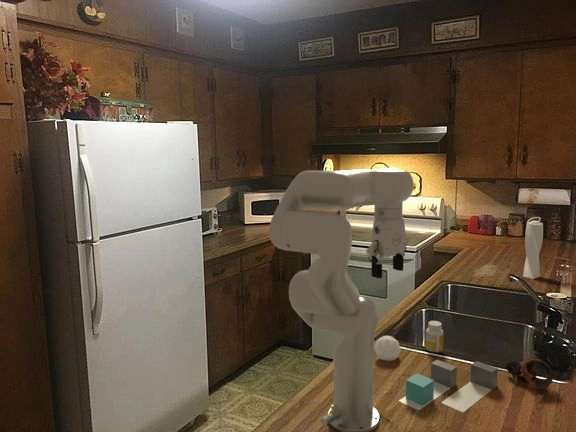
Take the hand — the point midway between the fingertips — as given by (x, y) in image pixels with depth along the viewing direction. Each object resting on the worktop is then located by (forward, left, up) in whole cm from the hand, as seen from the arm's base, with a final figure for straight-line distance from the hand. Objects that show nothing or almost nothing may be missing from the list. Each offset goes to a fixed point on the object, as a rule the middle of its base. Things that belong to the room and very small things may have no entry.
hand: (387, 273), depth 135 cm
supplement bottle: (+22, -2, -31) cm, 38 cm away
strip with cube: (-2, -15, -30) cm, 34 cm away
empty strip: (+5, -23, -30) cm, 38 cm away
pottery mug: (+23, -30, -31) cm, 49 cm away
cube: (-6, -15, -29) cm, 33 cm away
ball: (+7, +5, -31) cm, 32 cm away
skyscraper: (+122, +8, -31) cm, 126 cm away
